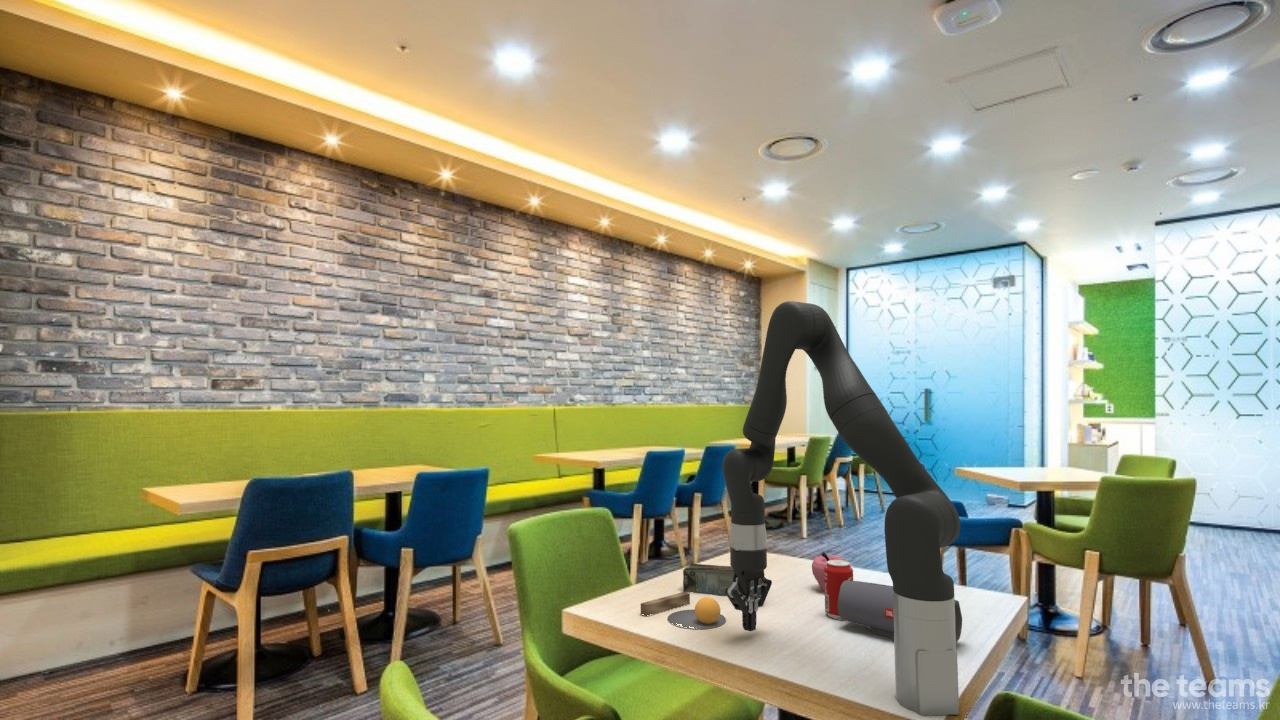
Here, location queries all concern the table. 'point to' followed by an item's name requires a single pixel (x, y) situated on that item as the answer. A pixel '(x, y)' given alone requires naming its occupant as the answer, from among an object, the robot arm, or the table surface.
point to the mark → (693, 620)
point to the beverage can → (835, 584)
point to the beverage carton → (707, 579)
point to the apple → (822, 567)
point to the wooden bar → (665, 603)
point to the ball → (707, 610)
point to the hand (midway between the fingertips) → (749, 629)
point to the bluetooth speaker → (875, 607)
